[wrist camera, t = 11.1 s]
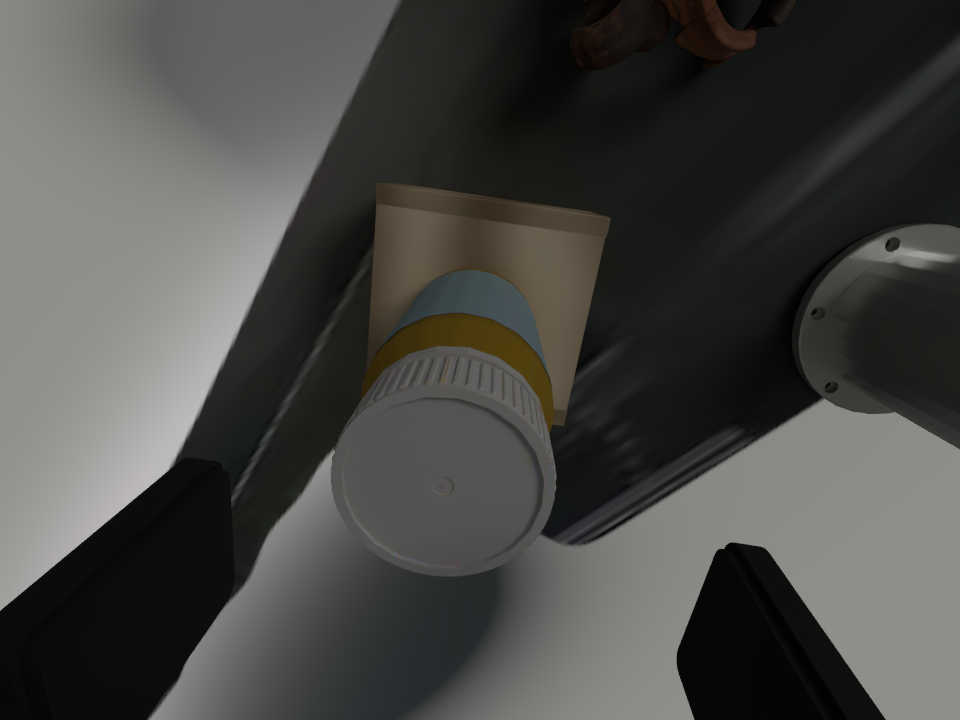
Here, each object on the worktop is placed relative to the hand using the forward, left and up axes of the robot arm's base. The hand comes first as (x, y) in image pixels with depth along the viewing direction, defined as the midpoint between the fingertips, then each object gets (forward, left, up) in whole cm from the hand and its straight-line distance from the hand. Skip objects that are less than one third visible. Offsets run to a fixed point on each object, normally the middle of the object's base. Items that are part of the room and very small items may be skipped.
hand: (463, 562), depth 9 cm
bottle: (+1, +1, -19) cm, 19 cm away
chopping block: (+1, 0, -25) cm, 25 cm away
